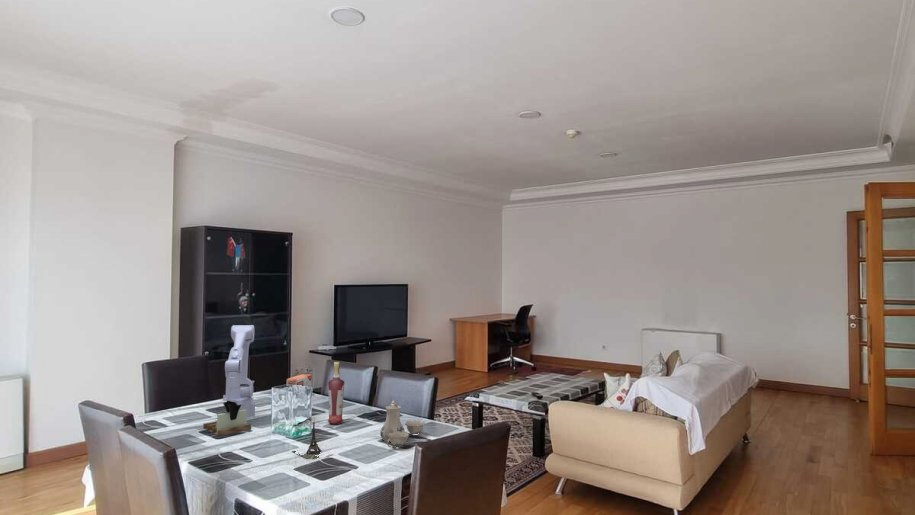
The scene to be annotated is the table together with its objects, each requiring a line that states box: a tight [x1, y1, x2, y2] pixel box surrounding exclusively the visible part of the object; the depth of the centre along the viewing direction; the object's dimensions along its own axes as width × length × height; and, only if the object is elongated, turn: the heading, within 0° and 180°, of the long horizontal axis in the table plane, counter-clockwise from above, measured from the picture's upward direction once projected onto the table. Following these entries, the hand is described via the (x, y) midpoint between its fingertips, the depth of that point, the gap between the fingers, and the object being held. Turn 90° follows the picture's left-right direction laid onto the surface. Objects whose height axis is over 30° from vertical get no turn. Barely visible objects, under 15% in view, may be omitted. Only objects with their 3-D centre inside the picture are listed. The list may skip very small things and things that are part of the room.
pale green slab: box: [216, 409, 248, 434], centre depth 229 cm, size 12×2×8 cm, turn 137°
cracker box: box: [285, 373, 313, 388], centre depth 247 cm, size 14×6×21 cm, turn 168°
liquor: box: [327, 361, 345, 425], centre depth 246 cm, size 7×7×28 cm
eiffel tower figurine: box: [291, 421, 332, 460], centre depth 203 cm, size 15×10×13 cm
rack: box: [202, 420, 252, 437], centre depth 232 cm, size 14×16×3 cm
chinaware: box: [379, 399, 426, 448], centre depth 221 cm, size 28×17×17 cm, turn 168°
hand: (232, 419), depth 229 cm, fingers closed on pale green slab, 2 cm apart
